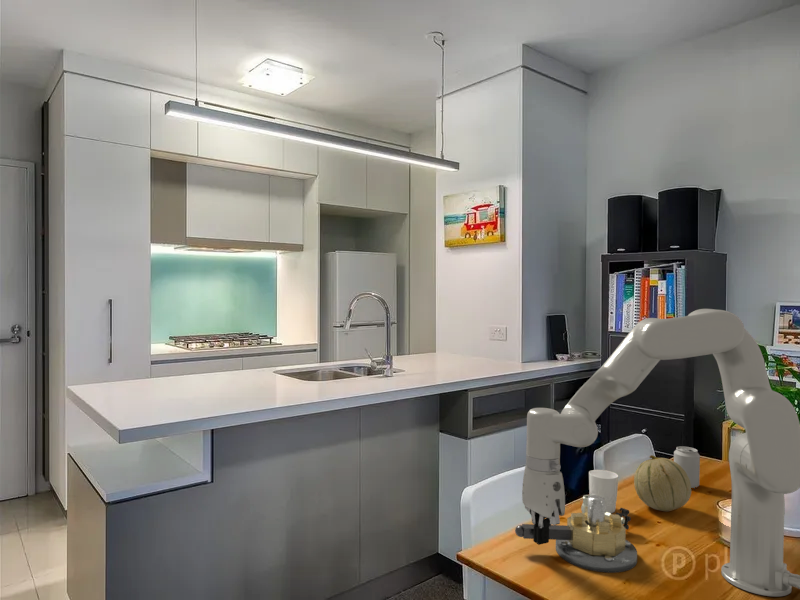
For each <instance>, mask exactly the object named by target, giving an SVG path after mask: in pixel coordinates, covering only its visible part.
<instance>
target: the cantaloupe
mask: <svg viewBox="0 0 800 600" xmlns="http://www.w3.org/2000/svg"><path fill="white" fill-rule="evenodd" d="M633 475H634V476H633V483H634V489H635V491H636V494H637V496H638V498H639V499H640V501H642V503H644V504H645V505H646V507H647V506H648V507H650V508H651V509H654V510H656V511H661V512H671V511H675V510H678V509H679V508H682V507H684V506H685V505H686V504H687V503H688V502H689V500H690V498H691V495H692V489H691V483H690V479H689V477H688V476H687V474H686V472H685V470H684V469H683V468H682V467H681V466H680V465H679V464H677V463H676V462H674V460H672V459H669V458H665V457H657V456H655V455H653V454H651V455H649V459H646V460H644V461H642V462H641V463H640V464H639V465H638V467H637V469H636V470H635V472H634V474H633Z"/></svg>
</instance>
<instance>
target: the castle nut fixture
mask: <svg viewBox="0 0 800 600" xmlns="http://www.w3.org/2000/svg"><path fill="white" fill-rule="evenodd" d="M587 518H588V507H587V506H585V513H582V512H576V513H575V512H571V513H570V516H569V517H567V519H566V521H567V522H566V523H567V524H566V525H560V524H557V525H552V524H551V526H549V540H550V541H551V540H552V541H553V540H555V541H556V540H568V541H569V542H570V544H571V546H572V547H573V548H575V549H578V550H581V551H583V552H586V553H588V554H591V555H601V556H616V555H617V554H619V553H621V552H622V551H624V550H625V539H626V532H627V531H626V530H627V529H626V528H625V527H624V526H623V525H624V524H623V525H622V524H621V517H620V516H619V515H616V514H613V513H611V514H610V517H608V516H605V522H597V523H596V527H592V526H589V525H587ZM514 532H515V534H516V536H517V537H519V538H523V539H524V540H525V539H527V540H528V539H529V540H533V537H534V524H533V523H532V524H531V523H529V524H528V523H522V524H520V525H519V524H518V525H517V526H516V527H515V528H514Z"/></svg>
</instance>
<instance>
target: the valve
mask: <svg viewBox="0 0 800 600" xmlns="http://www.w3.org/2000/svg"><path fill="white" fill-rule="evenodd" d="M588 496H590V494H584V495H583V496H582V504H581V507H580V509H581V513H585V506H587V507H588ZM619 511H621V512H620V513H619V512H616V513H615V515H619V516H620V517H621V524H622V525H623V526H624V527H625V528H626V530H629V528H630V526H629V522H631V519H632V518H631V516H628V515H630V510H629V509H626V508H623V507H620V508H619ZM610 514H612V513H608V512H605V516H608V517H610Z"/></svg>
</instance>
